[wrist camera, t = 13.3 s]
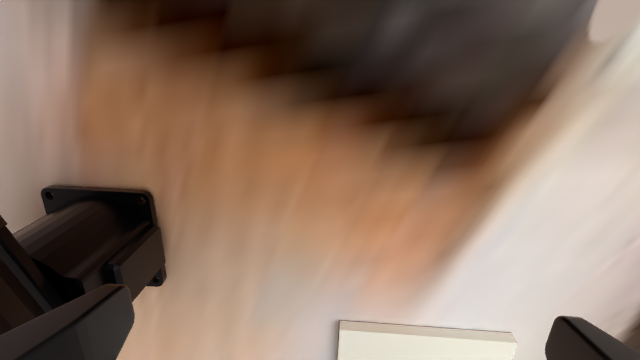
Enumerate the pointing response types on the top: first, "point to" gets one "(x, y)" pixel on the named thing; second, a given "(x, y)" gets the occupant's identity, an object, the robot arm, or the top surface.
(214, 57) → the top surface
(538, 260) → the top surface
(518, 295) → the top surface
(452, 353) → the cream board
